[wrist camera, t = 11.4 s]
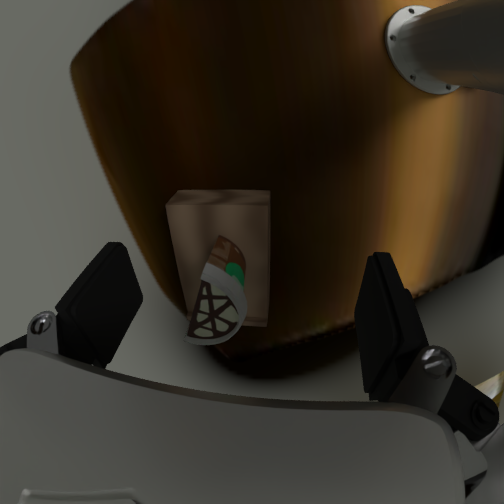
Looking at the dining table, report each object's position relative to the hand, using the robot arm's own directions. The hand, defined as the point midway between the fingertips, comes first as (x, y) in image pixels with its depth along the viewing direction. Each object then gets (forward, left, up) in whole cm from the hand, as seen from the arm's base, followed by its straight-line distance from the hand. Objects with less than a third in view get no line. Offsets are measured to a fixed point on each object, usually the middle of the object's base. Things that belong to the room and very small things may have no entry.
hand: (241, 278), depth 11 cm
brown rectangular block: (+7, +18, -28) cm, 34 cm away
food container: (+6, +17, -23) cm, 29 cm away
